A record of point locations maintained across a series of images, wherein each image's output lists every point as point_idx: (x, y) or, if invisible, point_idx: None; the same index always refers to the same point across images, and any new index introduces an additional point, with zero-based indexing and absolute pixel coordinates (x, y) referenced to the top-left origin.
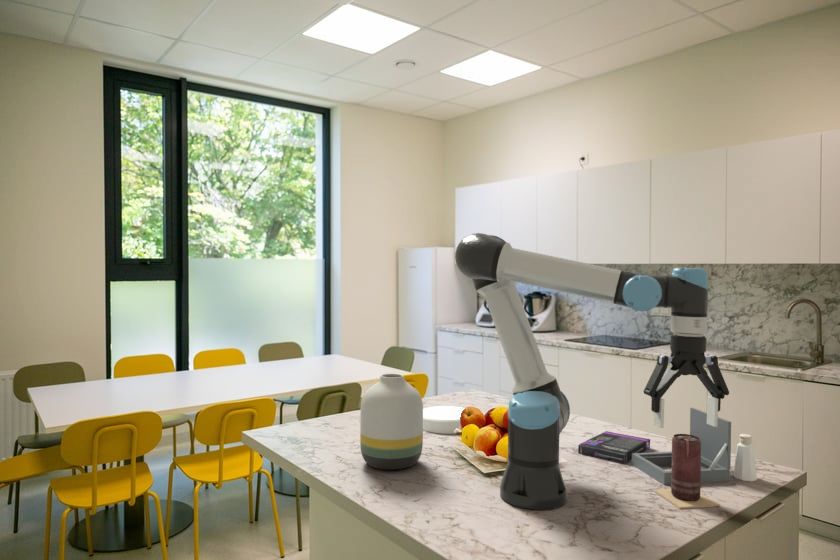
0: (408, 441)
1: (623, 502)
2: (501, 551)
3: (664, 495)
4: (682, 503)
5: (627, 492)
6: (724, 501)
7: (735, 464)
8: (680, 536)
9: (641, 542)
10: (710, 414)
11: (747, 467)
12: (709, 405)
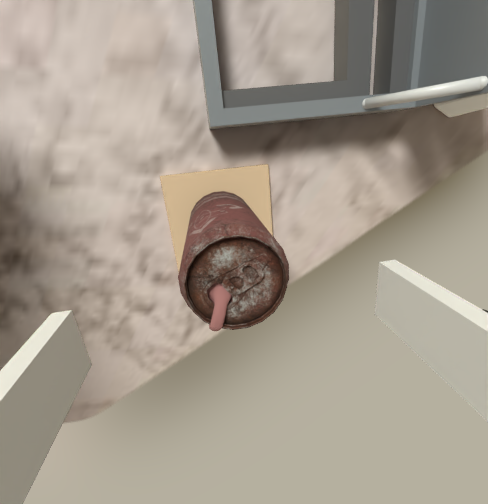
0: None
1: (57, 241)
2: None
3: (172, 214)
4: None
5: (85, 179)
6: (298, 236)
7: None
8: (129, 376)
9: None
10: (415, 318)
11: (475, 105)
12: (464, 344)
